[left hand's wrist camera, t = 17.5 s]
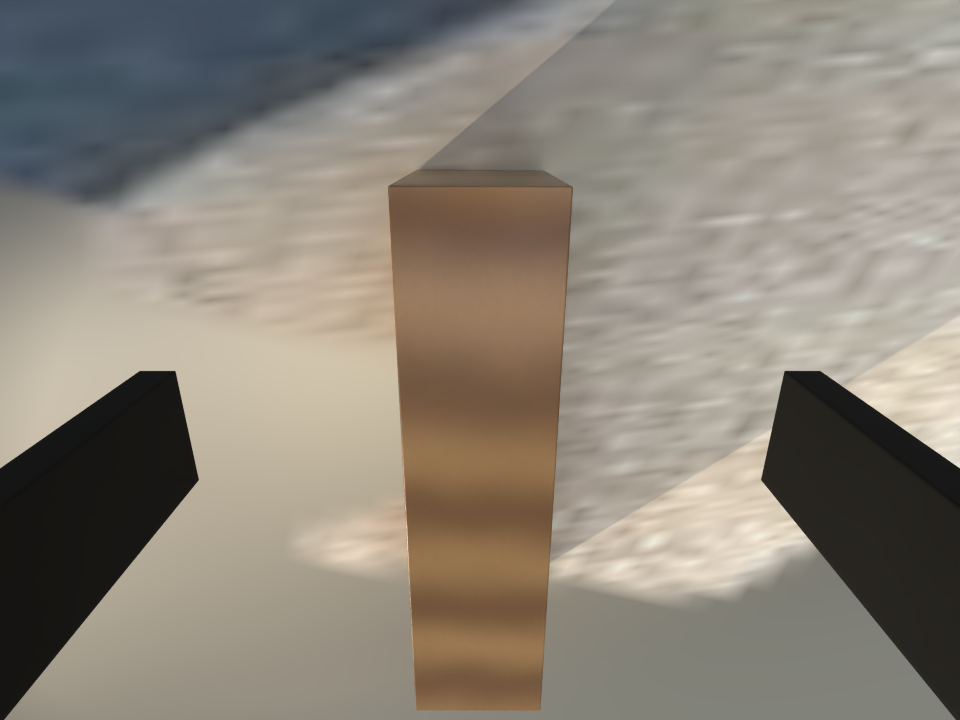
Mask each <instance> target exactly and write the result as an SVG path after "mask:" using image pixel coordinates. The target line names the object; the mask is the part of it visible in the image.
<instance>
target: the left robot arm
mask: <svg viewBox="0 0 960 720" xmlns="http://www.w3.org/2000/svg"><path fill="white" fill-rule="evenodd" d="M198 480H199V479H198V474H197V469H196V465H195V460H194V455H193V451H192V446H191V441H190V437H189V432H188V428H187V423H186V418H185V414H184V409H183V404H182V400H181V395H180V390H179V386H178V381H177V377H176V372H175V371H139V372H138V373H136V374H135V375H134V376H132V377H131V378H129V379H128V380H126V381H125V382H123V383H122V384H121V385H119V386H118V387H116V388H115V389H113V390H112V391H111V392H109V393H108V394H106V395H105V396H103V397H102V398H101V399H99V400H98V401H96V402H95V403H93V404H92V405H90V406H89V407H88V408H86V409H85V410H83V411H82V412H81V413H79V414H78V415H76V416H75V417H73V418H72V419H70V420H69V421H68V422H66V423H65V424H63V425H62V426H60V427H59V428H58V429H56V430H55V431H53V432H52V433H50V434H49V435H47V436H46V437H45V438H43V439H42V440H40V441H39V442H37V443H36V444H35V445H33V446H32V447H30V448H29V449H27V450H26V451H25V452H23V453H22V454H20V455H19V456H17V457H16V458H14V459H13V460H12V461H10V462H9V463H7V464H6V465H4V466H3V467H2V468H0V720H4V719H5V718H6V717H7V715H8V714H9V713H10V712H11V711H12V709H13V708H14V707H15V706H16V704H17V703H18V702H19V701H20V699H21V698H22V697H23V696H24V695H25V693H26V692H27V691H28V690H29V688H30V687H31V686H32V685H33V683H34V682H35V681H36V680H37V679H38V677H39V676H40V675H41V674H42V672H43V671H44V670H45V669H46V667H47V666H48V665H49V664H50V663H51V661H52V660H53V659H54V658H55V656H56V655H57V654H58V653H59V651H60V650H61V649H62V648H63V647H64V645H65V644H66V643H67V642H68V640H69V639H70V638H71V637H72V635H73V634H74V633H75V632H76V631H77V629H78V628H79V627H80V626H81V624H82V623H83V622H84V621H85V619H86V618H87V617H88V616H89V615H90V613H91V612H92V611H93V610H94V608H95V607H96V606H97V605H98V603H99V602H100V601H101V600H102V598H103V597H104V596H105V595H106V594H107V592H108V591H109V590H110V589H111V587H112V586H113V585H114V584H115V583H116V581H117V580H118V579H119V578H120V576H121V575H122V574H123V573H124V571H125V570H126V569H127V568H128V566H129V565H130V564H131V563H132V562H133V560H134V559H135V558H136V557H137V555H138V554H139V553H140V552H141V550H142V549H143V548H144V547H145V546H146V544H147V543H148V542H149V541H150V539H151V538H152V537H153V536H154V535H155V533H156V532H157V531H158V530H159V528H160V527H161V526H162V525H163V523H164V522H165V521H166V520H167V519H168V517H169V516H170V515H171V514H172V512H173V511H174V510H175V509H176V507H177V506H178V505H179V504H180V502H181V501H182V500H183V499H184V498H185V496H186V495H187V494H188V493H189V491H190V490H191V489H192V488H193V487H194V485H195V484H196V483H197V482H198ZM761 480H762V482H763V483H764V484H765V485H766V487H767V488H768V489H769V490H770V491H771V493H772V494H773V495H774V496H775V498H776V499H777V500H778V501H779V503H780V504H781V505H782V506H783V507H784V509H785V510H786V511H787V512H788V514H789V515H790V516H791V517H792V519H793V520H794V521H795V522H796V523H797V525H798V526H799V527H800V528H801V530H802V531H803V532H804V533H805V535H806V536H807V537H808V538H809V539H810V541H811V542H812V543H813V544H814V546H815V547H816V548H817V549H818V551H819V552H820V553H821V554H822V555H823V557H824V558H825V559H826V560H827V562H828V563H829V564H830V565H831V567H832V568H833V569H834V570H835V571H836V573H837V574H838V575H839V576H840V578H841V579H842V580H843V581H844V583H845V584H846V585H847V586H848V587H849V589H850V590H851V591H852V592H853V594H854V595H855V596H856V597H857V598H858V600H859V601H860V602H861V603H862V605H863V606H864V607H865V608H866V610H867V611H868V612H869V613H870V615H871V616H872V617H873V618H874V619H875V621H876V622H877V623H878V624H879V626H880V627H881V628H882V629H883V631H884V632H885V633H886V634H887V635H888V637H889V638H890V639H891V640H892V642H893V643H894V644H895V645H896V647H897V648H898V649H899V650H900V651H901V653H902V654H903V655H904V656H905V658H906V659H907V660H908V661H909V663H910V664H911V665H912V666H913V667H914V669H915V670H916V671H917V672H918V674H919V675H920V676H921V677H922V679H923V680H924V681H925V682H926V683H927V685H928V686H929V687H930V688H931V690H932V691H933V692H934V693H935V695H936V696H937V697H938V698H939V699H940V701H941V702H942V703H943V704H944V706H945V707H946V708H947V709H948V711H949V712H950V713H951V714H952V715H953V717H954V718H955V719H956V720H960V468H958V467H957V466H956V465H954V464H953V463H951V462H950V461H948V460H947V459H946V458H944V457H943V456H941V455H940V454H938V453H937V452H935V451H934V450H933V449H931V448H930V447H928V446H927V445H925V444H924V443H923V442H921V441H920V440H918V439H917V438H915V437H914V436H913V435H911V434H910V433H908V432H907V431H905V430H904V429H902V428H901V427H900V426H898V425H897V424H895V423H894V422H892V421H891V420H890V419H888V418H887V417H885V416H884V415H882V414H881V413H880V412H878V411H877V410H875V409H874V408H872V407H871V406H870V405H868V404H867V403H865V402H864V401H862V400H861V399H859V398H858V397H857V396H855V395H854V394H852V393H851V392H849V391H848V390H847V389H845V388H844V387H842V386H841V385H839V384H838V383H837V382H835V381H834V380H832V379H831V378H829V377H828V376H827V375H825V374H824V373H822V372H821V371H785V372H784V376H783V381H782V386H781V390H780V395H779V400H778V404H777V409H776V414H775V418H774V423H773V427H772V432H771V437H770V441H769V446H768V451H767V455H766V460H765V465H764V469H763V474H762V479H761Z"/></svg>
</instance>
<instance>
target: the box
mask: <svg viewBox="0 0 960 720" xmlns="http://www.w3.org/2000/svg"><path fill="white" fill-rule="evenodd" d="M572 193H573V187H572V186H570V185H568V184H566V183H565V182H563V181H561V180H559V179H557V178H556V177H554V176H552V175H550V174H549V173H547V172H545V171H515V170H416V171H415V172H413V173H411V174H409V175H408V176H406V177H404V178H402V179H400V180H399V181H397V182H395V183H393V184H391V185H390V186H388V194H389V213H390V232H391V251H392V270H393V289H394V307H395V326H396V345H397V364H398V383H399V402H400V421H401V440H402V459H403V477H404V497H405V516H406V535H407V553H408V572H409V591H410V610H411V629H412V648H413V667H414V686H415V705H416V710H525V711H527V710H529V711H539V710H540V707H541V691H542V675H543V659H544V643H545V627H546V611H547V595H548V579H549V563H550V547H551V531H552V515H553V499H554V483H555V467H556V450H557V434H558V418H559V402H560V386H561V370H562V354H563V338H564V322H565V306H566V290H567V274H568V258H569V241H570V225H571V209H572Z"/></svg>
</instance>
